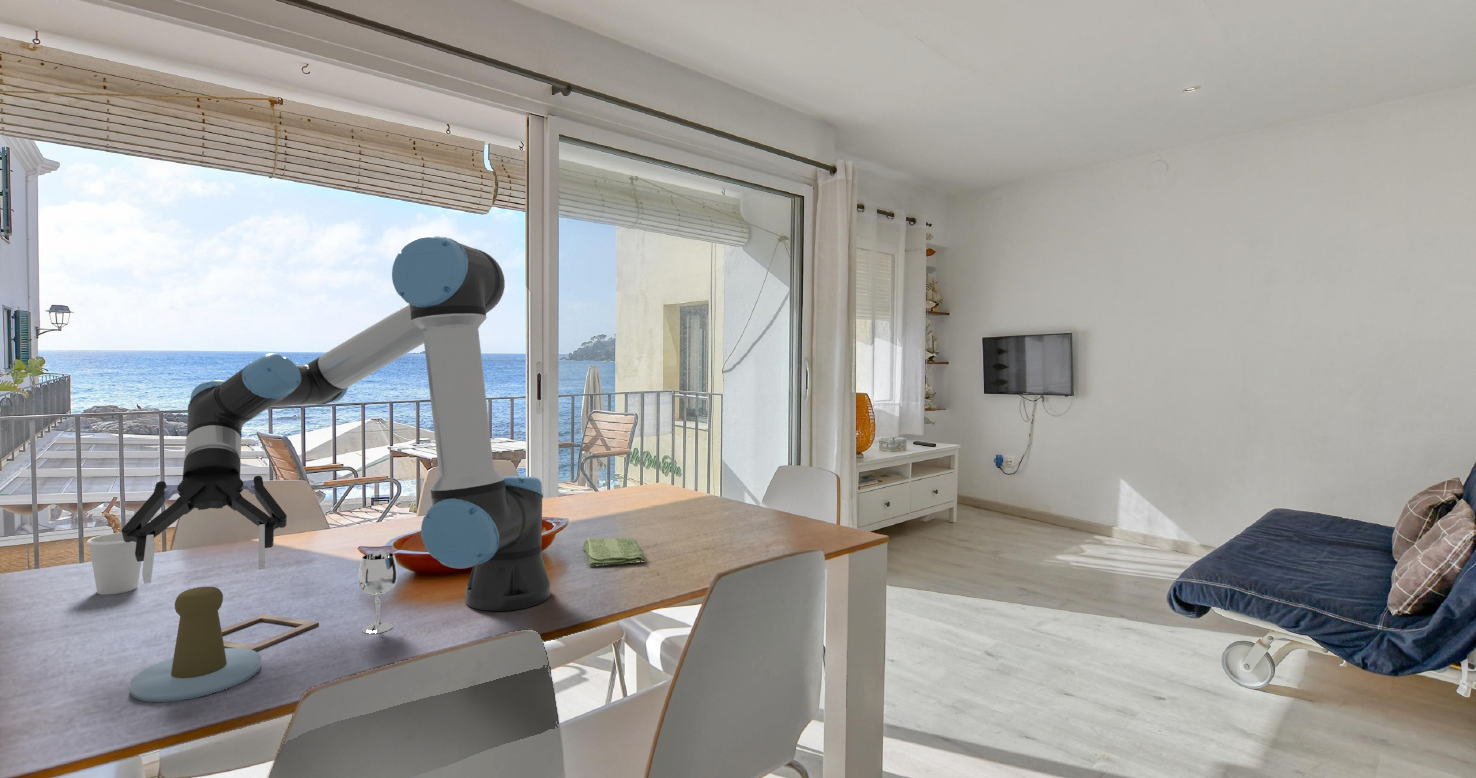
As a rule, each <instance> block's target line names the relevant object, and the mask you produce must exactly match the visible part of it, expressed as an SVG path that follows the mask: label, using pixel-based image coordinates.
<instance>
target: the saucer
mask: <svg viewBox="0 0 1476 778" xmlns="http://www.w3.org/2000/svg"><path fill="white" fill-rule="evenodd" d="M225 655H226V661H227V664H226V666H225V667H224V668H222V669H220V670H218V671H216V672H213V673H211V674H207V675H203V676H199V677H193V678H175V677H172V676H171V671H172V664H173V658H174V657H172V658H169V659H166V660H163V661H160V662H158V663H155V664H152V665H150V666H149V667H147V668H145V669H143V670H141V671H140V672H138V673H136V675H134V677H132V679H131V681H130V695H131V697H132V698H134V699H135V700H136V701H137V700H138V701H141V702H146V703H167V702H168V703H169V702H170V703H171V702H179V701H186V699H187V700H191V699H196V698H201V696H202V697H205V696H204V695H206V696H209V694H210V695H213V694H212V693H214V692H217V693H219V692H218V691H220V692H222V691H221V690H223V691H225V690H224V689H226V688H229V689H231V688H233V686H234V687H236V686H238V685H237V684H239V683H241V684H243V683H244V682H243V681H245V682H246V681H248V680H250V679H251V678H252V676H253V677H254V676H255V675H257V674H258V673H259V671H260V670H261V667H262V655H261V654H260V653H259V652H258V651H253V650H249V649H242V648H225ZM257 672H258V673H257ZM256 673H257V674H256ZM242 682H243V683H242ZM235 685H236V686H235ZM239 685H240V684H239ZM230 687H231V688H230ZM226 690H227V689H226ZM214 694H215V693H214Z"/></svg>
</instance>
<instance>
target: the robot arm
mask: <svg viewBox="0 0 1476 778" xmlns="http://www.w3.org/2000/svg"><path fill="white" fill-rule="evenodd" d="M391 269H392V270H391V280H392V284H393V287H394V289H395V291H396V293H397V294H398V296H400V297H401V298H402V300H403V301H405V302H406V303H407V304H406V305H403V306H402V307H400V308H399V309H397V310H396V311H394V312H392V313H390V314H389V315H387V316H386V317H384V318H382V319H380V320H378V321H377V322H375V323H374V324H372V325H370V326H369V327H367V328H366V329H363V330H362V331H361V332H359V333H357V334H355V335H354V336H352V337H350V338H348V339H347V340H345V341H343V342H342V343H340V344H338V345H337V346H335V347H333V348H331V349H330V350H329V351H328V350H327V352H325V353H323V354H322V355H320V356H318V357H317V358H315V359H313V360H312V361H310V362H308V363H306V364H295V363H294V361H292V360H291V359H289V358H288V357H286V356H282V355H281V354H279V353H275V352H273V353H271V352H270V353H265V354H264V355H262V356H261V357H258V358H257V359H255V360H252V361H251V362H249V363H247V365H246V366H244V367H243V368H242V369H240V370H239V371H238V372H236V373H235V374H234V375H232V376H231V377H229V378H228V379H226V380H220V379H217V380H216V379H215V380H211V381H208V382H201V383H200V384H198V385H197V386H195V387H194V388H193V390H192V391H191V395H190V400H189V403H188V404H187V423H186V424H187V425H186V438H185V447H184V461H183V469H182V480H181V481H180V483H179V484H167V483H166V482H165V481H161V480H160V481H158V482H156V484H155V487H154V489H153V492H152V494H151V495H150V496H149V498H147V500H145V502H144V503H143V504H142V506H140V508H139V509H138V510H137V511H136V513H135V514H134V515H132V517H131V518H130V519H129V521H128V522H127V523H126V524H125V525H124V526H123V527H122V529H121V533H122V536H123V540H124V541H125V542H131V541H134V542H136V550H135V556H136V560H137V562H140V561H141V562H143V563H142V573H141V575H142V580H143V584H150V583H152V577H153V568H154V559H155V549H156V542H155V541H156V540H155V538H156V537H158V536H159V535H160V534H161V533H163V532H164V531H165V530H167V529H168V528H169V527H170V526H171V525H172V524H174V523H175V522H176V521H177V520H179V519H180V518H182V516H184V515H188V514H190V512H191V511H192V510H194V509H197V511H203V510H208V509H223V507H226V506H227V507H229V508H230V509H231V510H233V511H236V512H238V513H239V514H240V515H242V516H243V517H245V518H246V519H247V520H249V521H250V522H252V523H253V524H254V525H256V526H257V527H258V570H265V569H266V568H265V567H266V565H265V564H266V562H265V561H266V557H265V555H266V553H265V552H266V549H269V548H273V546H274V539H275V537H274V532H275V530H276V529H278V528H280V529H283V528H285V527H286V526H287V519H288V518H287V513H285V511H284V510H283V508H282V507H281V506H280V505H279V503H277V501H276V500H275V498H274V497H273V496H272V495H271V494H270V492H269V490H268V489H266V487H265V485H264V480H263V479H264V478H263V477H262V476H261V475H255V476H254V477H253V479H249V480H242V479H241V463H242V461H241V458H242V457H241V455H242V432H243V431H242V430H243V429H242V428H243V426H244V425H245V424H247V422H249V421H251V420H252V419H254V418H256V417H257V416H259V415H260V414H261V413H263V412H264V411H266V410H268V409H270V408H276V407H289V406H304V405H306V406H307V405H320V406H322V405H327V404H330V403H335V402H338V401H340V400H342V399H343V397H344V396H345V395H346V393H347V391H348V389H349V387H351V386H353V385H355V384H356V383H358V382H359V381H361V380H363V379H365V378H367V377H369V376H370V375H372V374H373V373H375V372H377V371H378V370H381V369H382V368H384V367H386V366H387V365H389V364H390V363H393V362H394V361H396V360H398V359H399V358H401V357H403V356H405V355H406V354H408V353H410V352H412V351H413V350H415V349H417V348H419V347H420V346H422V345H424V346H423V347H424V353H425V362H426V370H427V371H426V372H427V377H428V378H427V380H428V387H429V388H428V389H429V396H430V405H431V414H432V421H433V422H432V423H433V433H434V441H435V450H436V460H437V468H438V469H437V470H438V477H437V479H436V480H435V481H434V483H433V484H432V485H431V486H430V496H431V507H430V508H429V509H428V510H427V513H426V514H425V515H424V516H423V518H422V522H421V524H420V525H421V527H420V534H421V540H422V543H423V545H424V548H425V549H426V551H427V552H428V553H429V555H430V556H431V557H432V558H433V559H435V560H437V562H439V563H440V564H441V565H443V566H445V567H448V568H453V569H469V568H472V570H471V573H470V575H469V577H468V578H469V579H468V580H467V585H466V587H465V604H466V605H467V606H469V607H471V608H473V609H477V610H481V611H489V612H491V611H492V612H500V611H501V612H504V611H514V610H522V609H526V608H531V607H533V606H537V605H540V604H542V603H544V602H545V601H547V600H548V599H549V598H550V597H551V582H550V579H549V575H548V572H547V569H546V566H545V563H544V560H543V557H542V539H543V538H542V537H543V536H542V533H543V532H542V531H543V529H542V528H543V526H542V525H543V498H544V494H543V485H542V484H543V483H542V480H540V479H539V478H538V477H536V476H522V475H503V474H501V473H500V472H499V471H497V470H496V469H495V467H494V459H493V451H492V450H493V449H492V442H491V441H492V439H491V433H490V432H491V431H490V424H489V414H488V413H489V412H488V404H487V395H486V386H485V378H484V369H483V360H482V350H481V341H480V333H479V332H480V331H479V328H480V327H481V325H482V324H484V322H485V321H486V320H487V313H489V312H491V311H492V310H493V309H494V308H496V306H497V305H498V304H499V303H500V301H501V299H502V297H503V295H504V292H505V287H506V285H505V283H506V282H505V275H504V273H503V270H502V268H501V266H500V265H499V263H498V262H497V260H496V259H495V258H493V256H492V255H491V254H488V253H487V252H485V251H483V250H480V249H478V248H475V247H474V248H473V247H471V246H468V245H466V244H463V243H460V242H458V241H457V240H455V239H453V238H450V237H447V236H446V237H443V236H437V235H423V236H419V237H416V238H414V239H413V240H411V241H409V242H407V243H406V244H405V245H404V247H403V248H401V250H400V251H399V252H398V253H397V255H396V257H395V259H394V260H393V265H392V268H391ZM243 490H247V491H248V492H249V493H250V494H251V495H254V496H255V498H256V500H257V501H258V503H259V504H260V505H261V506H262V508H263V509H264V510H265V511H266V512H264V511H263V510H261V509H260V508H258V507H257V506H256V505H254V504H253V503H252V502H250V501H249V500H248V499H246V498H245V497H243V495H242V494H241V493H242V492H243ZM176 494H178V496H179V497H177V498H176V500H175V502H174V503H172V504H171V505H170V506H169V507H167V508H166V509H164V510H163V511H162V512H161V513H159V514H158V515H156V514H157V513H158V511H160V510H161V508H162V507H163V505H165V501H169V500H170V499H171V498H172V496H174V495H176ZM155 515H156V516H155Z"/></svg>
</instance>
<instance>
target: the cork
mask: <svg viewBox="0 0 1476 778" xmlns="http://www.w3.org/2000/svg"><path fill="white" fill-rule="evenodd" d="M223 602H224V595H223V592H222V590H220V588H218V587H215V586H199V587H198V586H197V587H193V588H189V589H185V590H184V591H182V592H180V593H179V594H178V595H177V597H176V599H175V601H174V610H175V613H176V614H177V615H178V616H179V621H178V626H177V627H178V628H177V634H176V638H175V639H176V640H175V647H174V652H173V657H172V658H173V664H172V671H171V676H172V677H175V678H193V677H199V676H203V675H207V674H211V673H213V672H216V671H218V670H220V669H222V668H224V667H225V666H226V664H227V661H226V655H225V649H224V643H223V641H224V637H223V635H222V631H221V629H222V626H221V621H220V615H219V614H220V613H219V610H220V608H221V607H222V604H223Z"/></svg>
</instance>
